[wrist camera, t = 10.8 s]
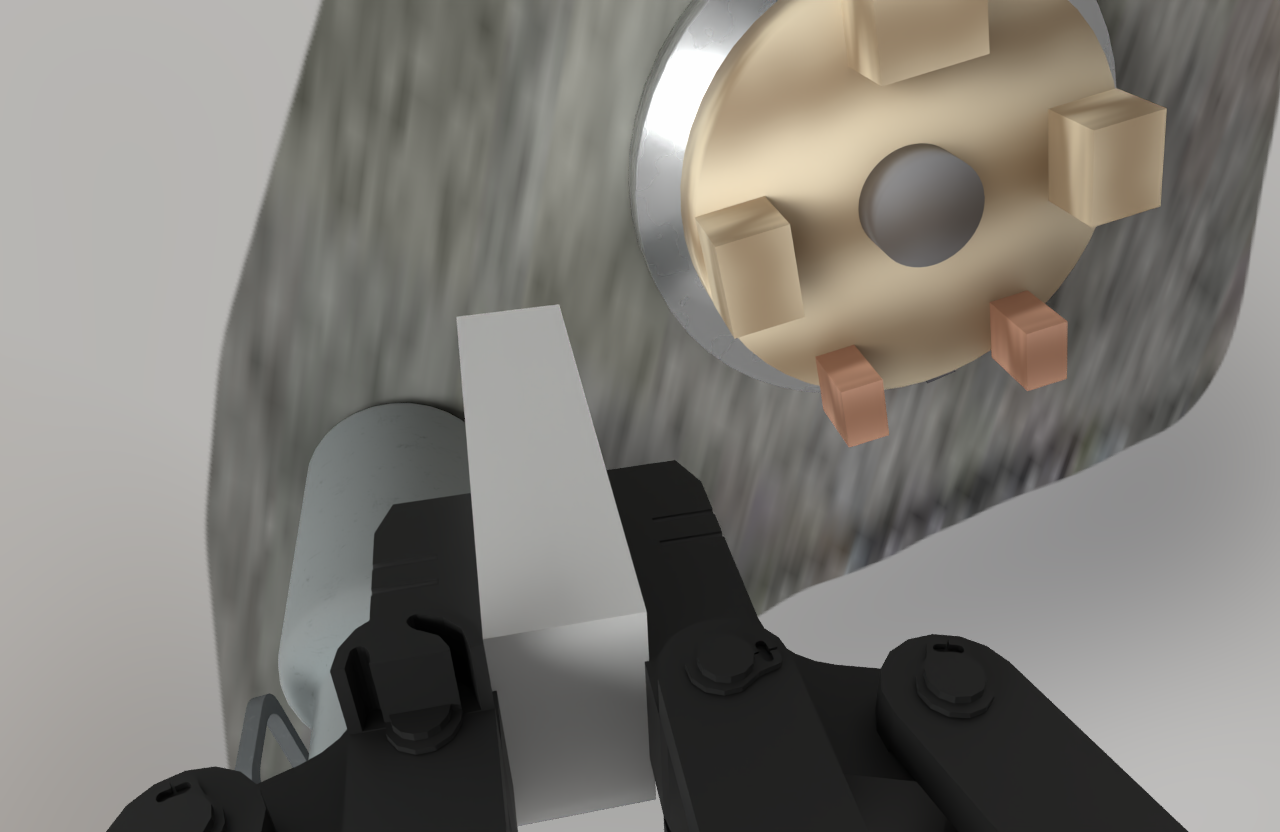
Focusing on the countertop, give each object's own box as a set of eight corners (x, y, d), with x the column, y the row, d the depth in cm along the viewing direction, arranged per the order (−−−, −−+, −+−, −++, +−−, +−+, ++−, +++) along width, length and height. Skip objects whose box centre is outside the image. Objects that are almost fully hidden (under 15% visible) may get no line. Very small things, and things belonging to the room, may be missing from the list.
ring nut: (635, 22, 41) (669, 55, 36) (1084, -112, 42) (1185, -99, 36) (723, 409, 52) (760, 479, 47) (1078, 297, 53) (1154, 354, 47)
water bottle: (338, 566, 55) (283, 1121, 32) (271, 426, 50) (145, 968, 27) (514, 518, 56) (586, 1027, 33) (466, 374, 51) (510, 860, 27)
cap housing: (619, -99, 41) (635, -92, 38) (1144, -122, 44) (1196, -116, 41) (635, 399, 53) (647, 433, 50) (1041, 349, 57) (1075, 379, 54)
